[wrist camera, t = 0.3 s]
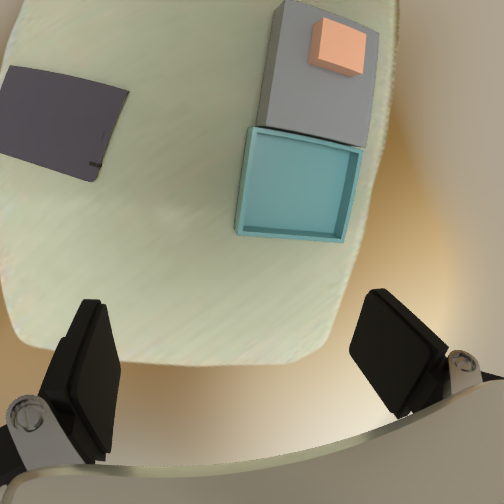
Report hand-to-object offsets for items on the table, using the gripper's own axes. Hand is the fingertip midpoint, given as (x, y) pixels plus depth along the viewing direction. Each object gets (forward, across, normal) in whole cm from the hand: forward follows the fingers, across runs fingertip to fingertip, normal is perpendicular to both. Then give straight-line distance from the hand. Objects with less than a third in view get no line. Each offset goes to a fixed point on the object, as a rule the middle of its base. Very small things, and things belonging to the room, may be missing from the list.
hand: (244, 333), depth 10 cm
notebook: (+31, +22, -10) cm, 40 cm away
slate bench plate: (+31, -14, -16) cm, 38 cm away
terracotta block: (+26, -15, -20) cm, 35 cm away
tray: (+31, -13, 0) cm, 33 cm away
